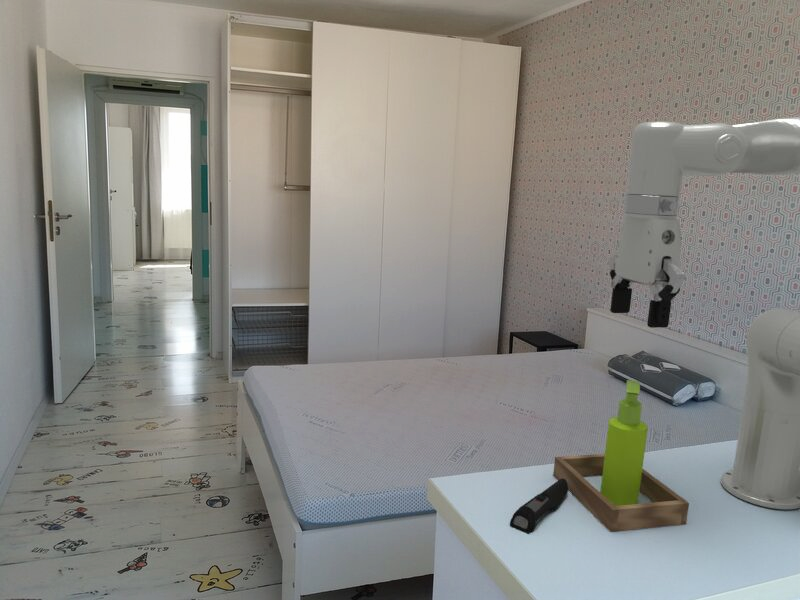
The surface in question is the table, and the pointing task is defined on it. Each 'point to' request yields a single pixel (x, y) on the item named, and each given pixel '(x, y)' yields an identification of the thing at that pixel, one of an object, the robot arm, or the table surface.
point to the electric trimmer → (539, 507)
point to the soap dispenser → (625, 451)
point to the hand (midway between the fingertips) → (637, 319)
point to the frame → (626, 517)
